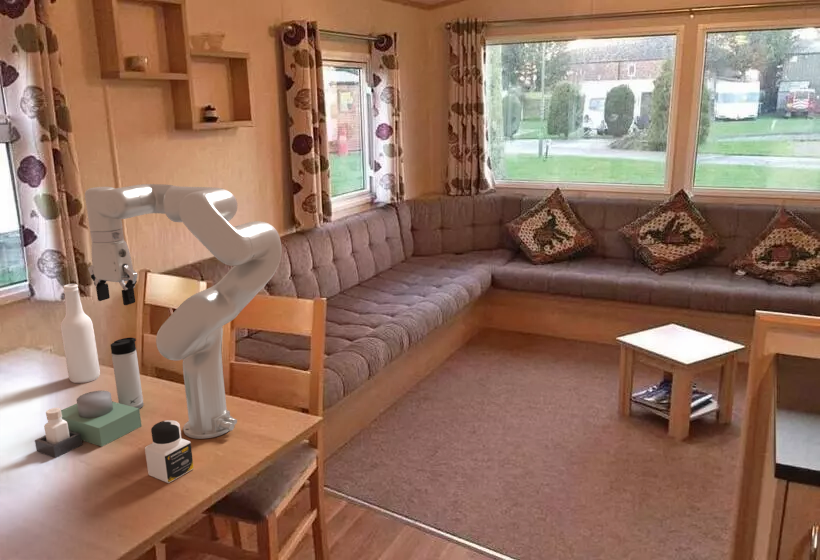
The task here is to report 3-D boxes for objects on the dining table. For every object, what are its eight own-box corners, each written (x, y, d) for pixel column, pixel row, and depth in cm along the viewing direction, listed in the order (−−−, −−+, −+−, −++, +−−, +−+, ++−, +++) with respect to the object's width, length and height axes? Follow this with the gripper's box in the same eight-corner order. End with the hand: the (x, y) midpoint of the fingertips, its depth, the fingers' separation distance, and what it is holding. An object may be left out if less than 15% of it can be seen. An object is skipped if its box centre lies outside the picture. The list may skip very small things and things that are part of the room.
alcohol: (96, 382, 201) (82, 287, 194) (65, 385, 200) (49, 290, 192) (103, 371, 210) (89, 280, 202) (73, 374, 208) (58, 282, 201)
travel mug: (139, 411, 181) (129, 343, 176) (115, 412, 181) (105, 343, 176) (148, 402, 187) (139, 335, 182) (125, 402, 187) (116, 335, 182)
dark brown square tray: (82, 444, 163) (80, 433, 163) (55, 457, 157) (53, 446, 156) (63, 438, 167) (62, 427, 166) (36, 451, 160) (34, 440, 160)
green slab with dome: (141, 426, 172) (137, 394, 170) (101, 446, 162) (96, 413, 160) (96, 413, 180) (91, 382, 178) (55, 431, 170) (49, 399, 168)
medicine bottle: (168, 484, 145) (162, 434, 142) (147, 475, 149) (141, 427, 146) (194, 469, 151) (188, 421, 148) (173, 461, 154) (167, 414, 151)
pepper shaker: (72, 444, 163) (66, 408, 160) (57, 451, 159) (50, 415, 157) (61, 440, 164) (55, 405, 162) (46, 447, 161) (40, 412, 159)
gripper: (143, 236, 165) (151, 301, 169) (97, 231, 173) (106, 294, 177) (118, 241, 158) (127, 309, 163) (71, 236, 166) (81, 301, 171)
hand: (116, 301), depth 170 cm, fingers open, 9 cm apart
